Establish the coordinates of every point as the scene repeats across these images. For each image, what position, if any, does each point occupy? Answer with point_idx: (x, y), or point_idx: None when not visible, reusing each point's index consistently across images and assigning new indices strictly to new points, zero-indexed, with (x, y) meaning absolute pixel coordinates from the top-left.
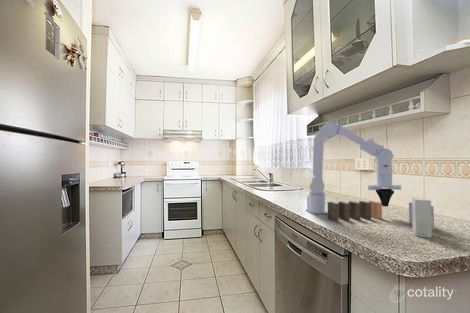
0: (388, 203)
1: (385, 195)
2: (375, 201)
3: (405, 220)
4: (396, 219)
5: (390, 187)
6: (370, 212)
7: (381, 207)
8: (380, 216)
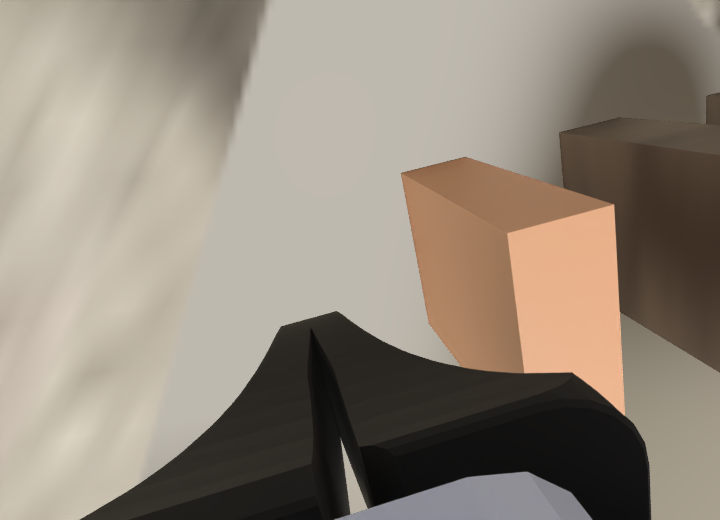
0: (280, 341)
1: (446, 376)
2: None
3: (84, 103)
4: (199, 161)
5: (490, 492)
6: (633, 138)
7: (468, 206)
8: (435, 171)
